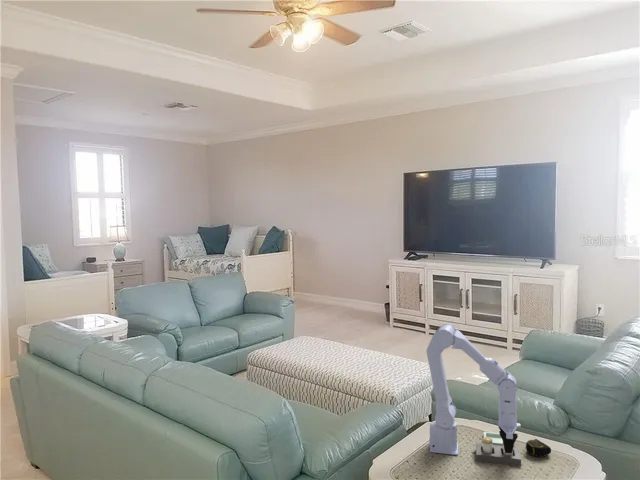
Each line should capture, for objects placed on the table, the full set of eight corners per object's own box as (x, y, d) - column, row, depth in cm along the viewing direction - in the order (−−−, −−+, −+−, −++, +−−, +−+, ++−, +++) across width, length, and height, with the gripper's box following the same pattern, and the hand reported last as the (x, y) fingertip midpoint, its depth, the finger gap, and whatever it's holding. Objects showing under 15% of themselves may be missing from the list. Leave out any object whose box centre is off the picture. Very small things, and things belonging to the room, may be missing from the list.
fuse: (482, 458, 164) (482, 441, 164) (482, 453, 167) (482, 436, 167) (492, 459, 163) (492, 442, 163) (492, 454, 166) (492, 437, 166)
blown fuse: (503, 460, 162) (503, 443, 162) (502, 455, 165) (502, 438, 165) (513, 461, 161) (513, 444, 161) (512, 456, 164) (512, 439, 164)
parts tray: (484, 446, 172) (484, 441, 172) (483, 435, 180) (483, 431, 180) (514, 449, 169) (514, 444, 169) (512, 438, 177) (512, 434, 177)
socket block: (476, 460, 162) (476, 454, 162) (475, 449, 170) (475, 443, 170) (521, 465, 158) (521, 459, 158) (518, 453, 166) (518, 447, 166)
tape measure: (552, 456, 164) (552, 446, 164) (535, 460, 162) (535, 449, 161) (537, 447, 170) (537, 437, 170) (521, 451, 168) (521, 440, 168)
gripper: (522, 421, 154) (523, 462, 155) (518, 403, 168) (518, 440, 169) (499, 419, 156) (499, 459, 157) (496, 401, 170) (497, 438, 171)
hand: (507, 449), depth 163 cm, fingers closed on blown fuse, 3 cm apart
